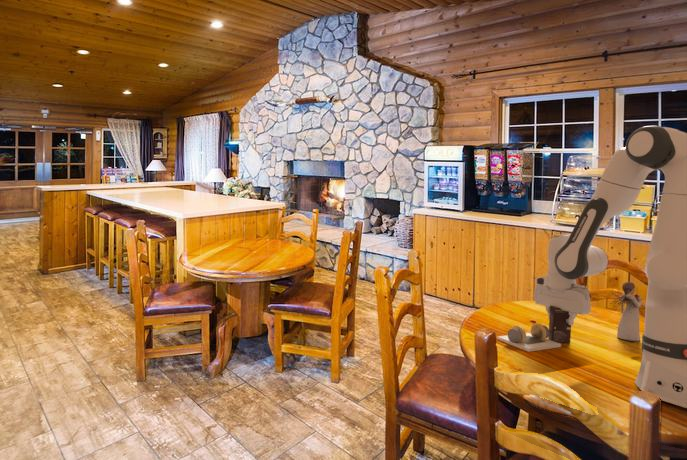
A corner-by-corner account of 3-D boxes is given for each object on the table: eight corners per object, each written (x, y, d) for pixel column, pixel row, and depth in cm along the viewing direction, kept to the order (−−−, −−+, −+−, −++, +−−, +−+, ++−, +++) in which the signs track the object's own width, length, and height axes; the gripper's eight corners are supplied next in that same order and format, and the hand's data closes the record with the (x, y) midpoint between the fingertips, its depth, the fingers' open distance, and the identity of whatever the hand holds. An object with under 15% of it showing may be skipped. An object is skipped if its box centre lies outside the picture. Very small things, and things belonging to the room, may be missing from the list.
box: (552, 342, 147) (554, 307, 146) (548, 338, 152) (549, 304, 151) (571, 343, 146) (572, 308, 146) (566, 339, 151) (567, 305, 150)
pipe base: (560, 346, 143) (561, 328, 142) (528, 351, 137) (529, 332, 137) (527, 335, 155) (528, 318, 155) (497, 339, 150) (497, 321, 150)
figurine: (644, 340, 151) (646, 283, 150) (630, 345, 145) (632, 285, 144) (614, 333, 159) (616, 279, 158) (599, 337, 154) (602, 281, 153)
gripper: (596, 286, 140) (595, 328, 140) (544, 277, 158) (543, 314, 159) (582, 287, 137) (581, 330, 138) (531, 278, 156) (530, 316, 157)
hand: (560, 322), depth 149 cm, fingers open, 6 cm apart
